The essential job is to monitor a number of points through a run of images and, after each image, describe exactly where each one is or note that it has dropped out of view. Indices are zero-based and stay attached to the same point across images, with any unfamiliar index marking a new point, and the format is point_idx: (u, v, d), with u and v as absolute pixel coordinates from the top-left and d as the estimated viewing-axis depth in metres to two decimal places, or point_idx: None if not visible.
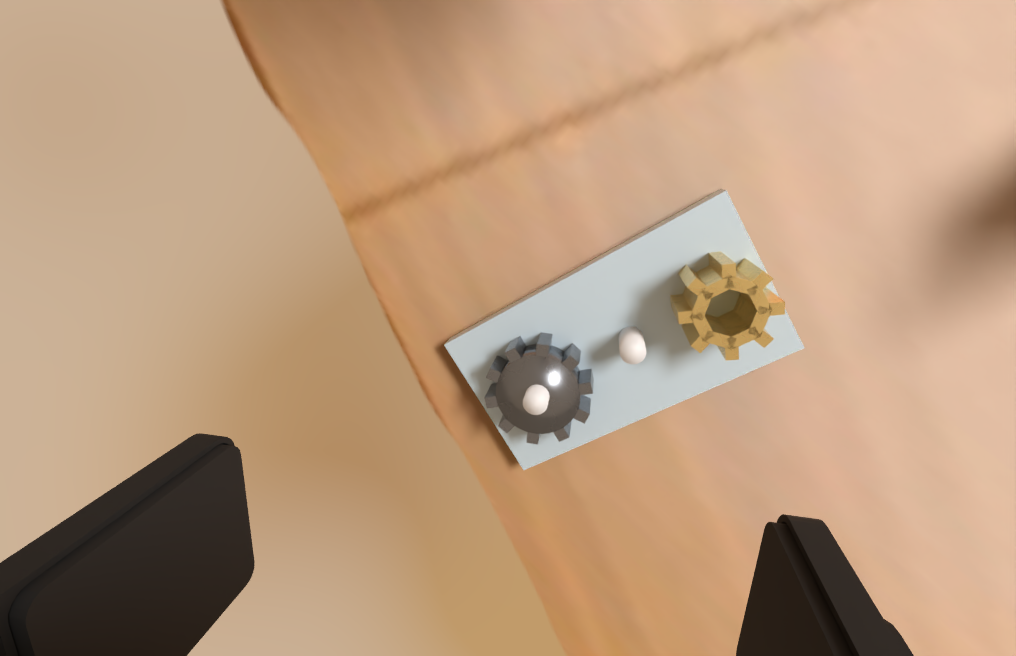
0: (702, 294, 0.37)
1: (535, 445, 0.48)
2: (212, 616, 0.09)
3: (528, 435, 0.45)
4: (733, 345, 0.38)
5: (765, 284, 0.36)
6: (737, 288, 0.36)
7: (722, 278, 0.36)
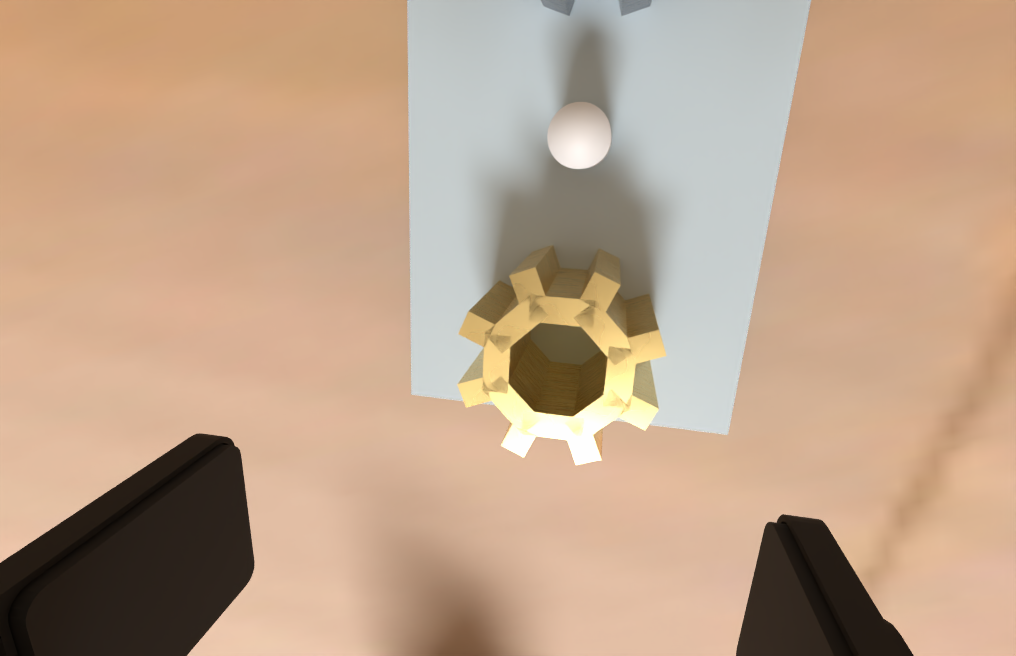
0: (625, 347, 0.17)
1: None
2: (212, 617, 0.09)
3: None
4: (491, 340, 0.18)
5: (573, 449, 0.18)
6: (595, 406, 0.18)
7: (631, 395, 0.17)
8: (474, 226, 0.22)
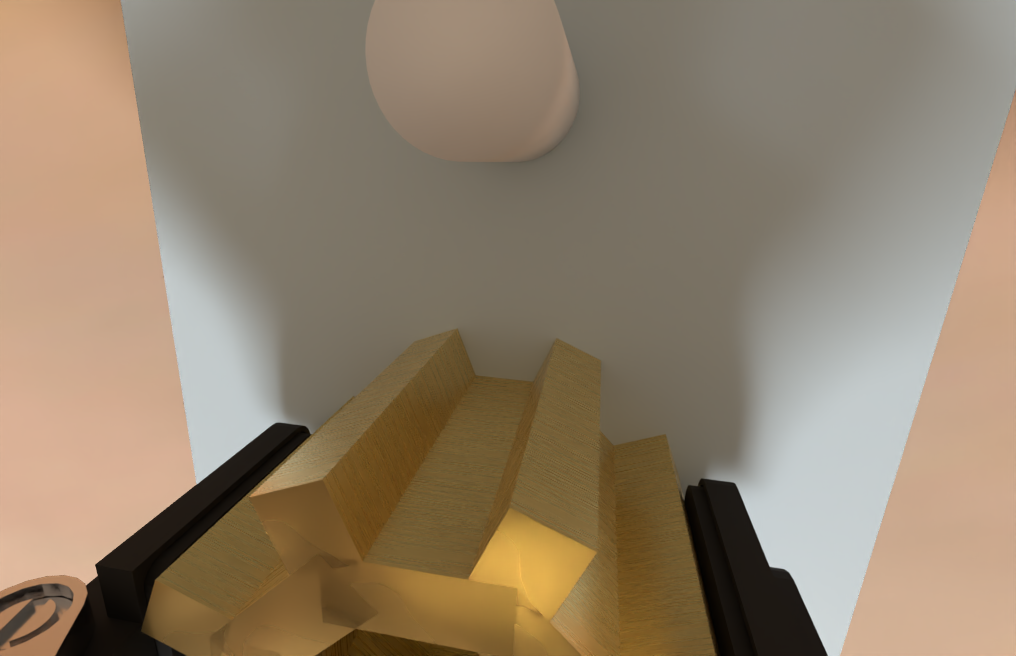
0: None
1: None
2: None
3: None
4: (229, 655, 0.06)
5: None
6: None
7: None
8: (293, 286, 0.10)
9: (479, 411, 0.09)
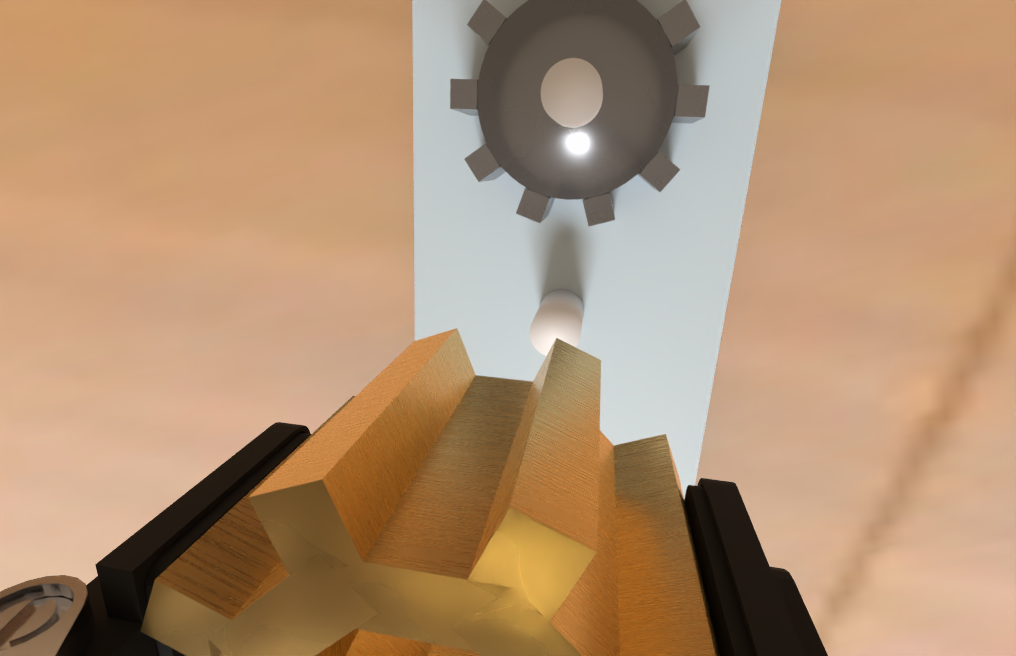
0: None
1: (454, 2, 0.21)
2: None
3: (498, 15, 0.18)
4: (229, 655, 0.06)
5: None
6: None
7: None
8: None
9: (479, 411, 0.09)
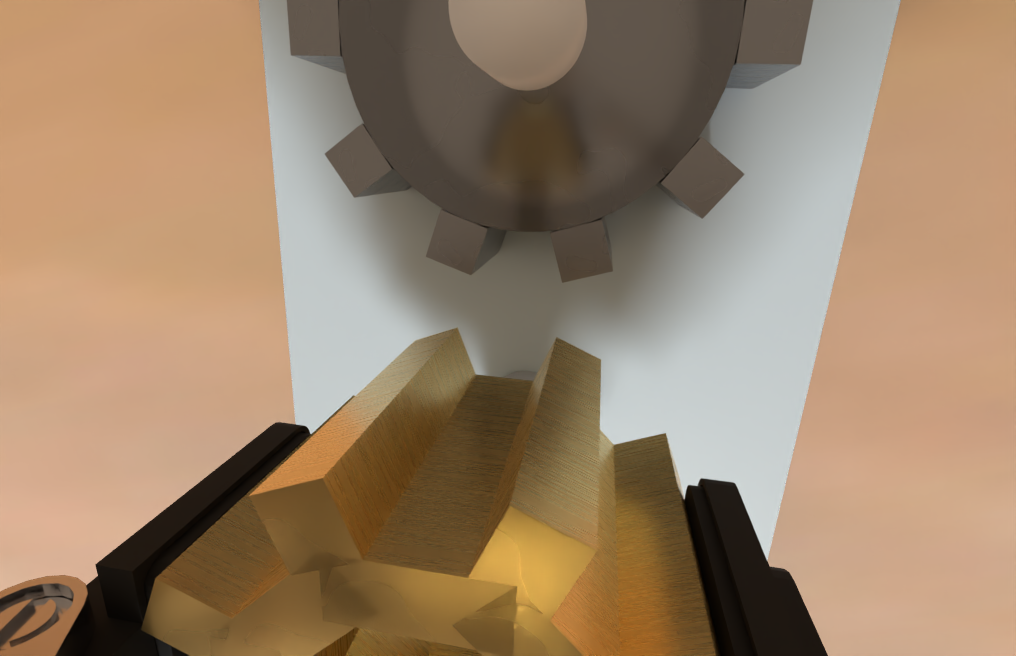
0: None
1: None
2: None
3: None
4: (229, 654, 0.06)
5: None
6: None
7: None
8: None
9: (479, 410, 0.09)
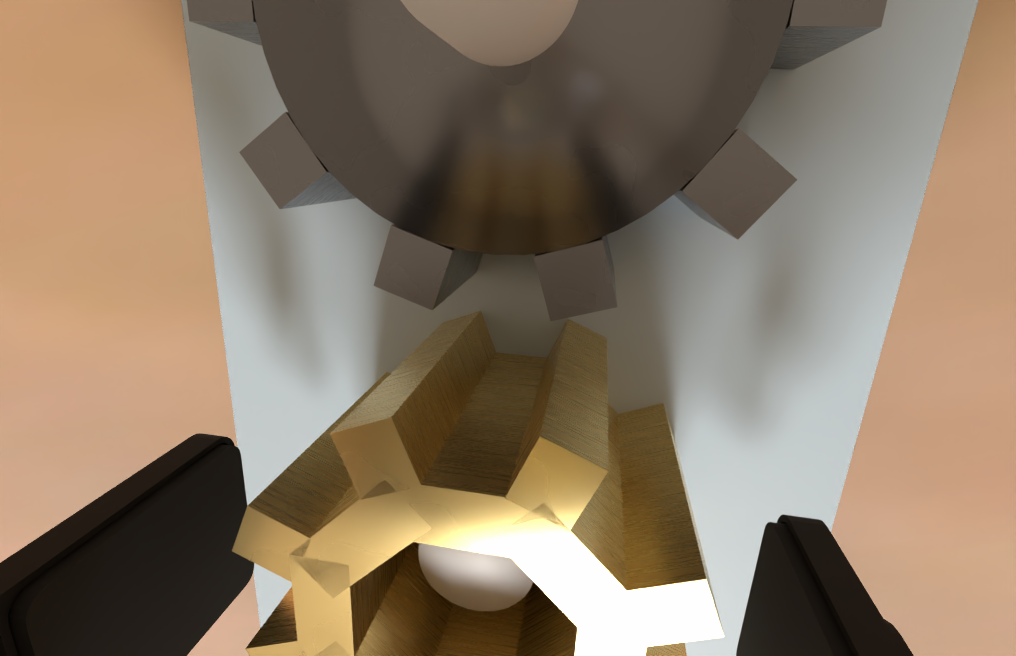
0: (621, 610, 0.07)
1: None
2: (213, 616, 0.09)
3: None
4: (305, 569, 0.08)
5: None
6: None
7: None
8: None
9: (502, 380, 0.10)
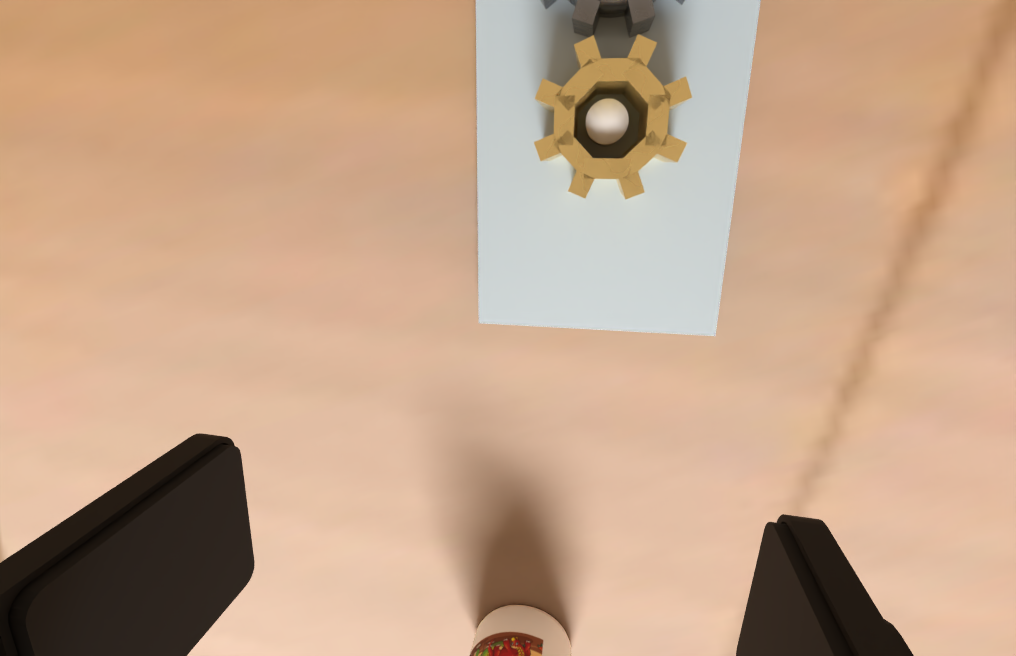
0: (661, 93, 0.23)
1: None
2: (212, 616, 0.09)
3: None
4: (560, 101, 0.24)
5: (623, 186, 0.24)
6: (639, 147, 0.24)
7: (667, 134, 0.23)
8: (526, 191, 0.30)
9: None
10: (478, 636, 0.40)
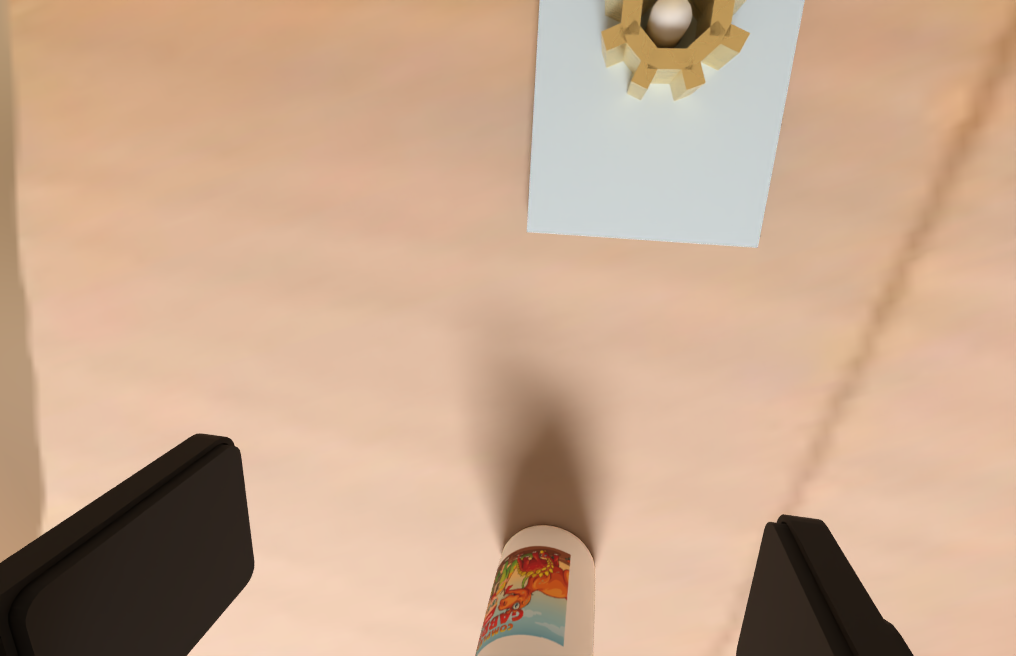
0: None
1: None
2: (212, 617, 0.09)
3: None
4: None
5: (685, 76, 0.25)
6: (703, 37, 0.25)
7: (731, 24, 0.24)
8: (581, 99, 0.31)
9: None
10: (506, 552, 0.41)
